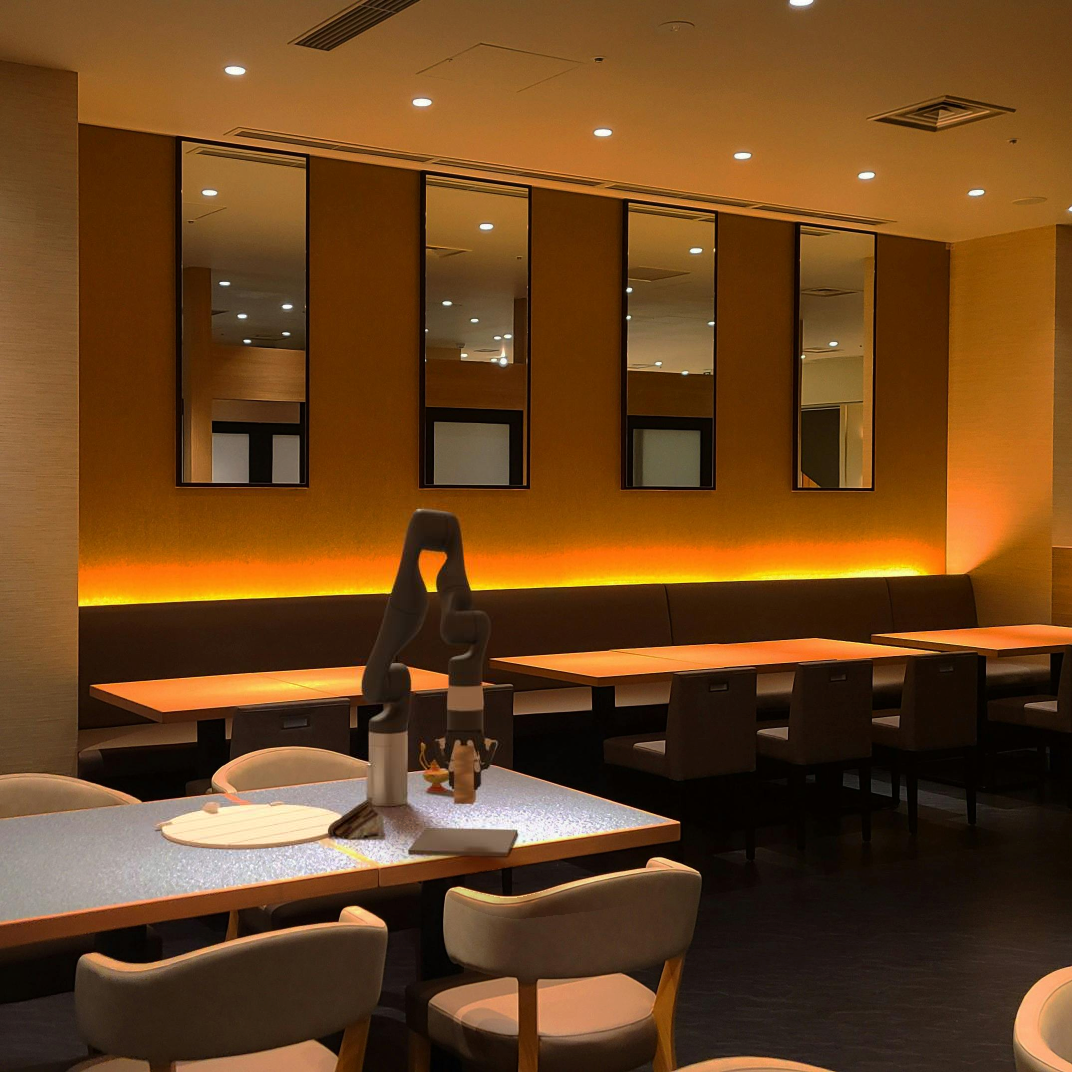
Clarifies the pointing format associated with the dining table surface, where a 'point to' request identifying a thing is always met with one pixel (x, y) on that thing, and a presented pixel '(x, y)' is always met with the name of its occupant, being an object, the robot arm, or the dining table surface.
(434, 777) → the magic lamp
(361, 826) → the chocolate cake
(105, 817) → the dining table surface
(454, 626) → the robot arm
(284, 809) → the lazy susan
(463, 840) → the charcoal mat
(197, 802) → the dining table surface
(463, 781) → the oak pillar
